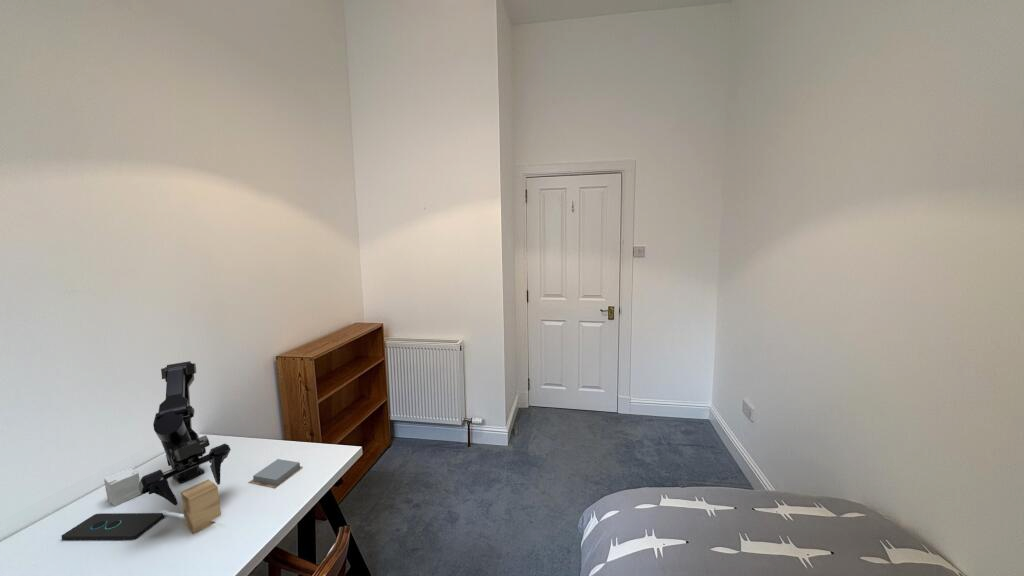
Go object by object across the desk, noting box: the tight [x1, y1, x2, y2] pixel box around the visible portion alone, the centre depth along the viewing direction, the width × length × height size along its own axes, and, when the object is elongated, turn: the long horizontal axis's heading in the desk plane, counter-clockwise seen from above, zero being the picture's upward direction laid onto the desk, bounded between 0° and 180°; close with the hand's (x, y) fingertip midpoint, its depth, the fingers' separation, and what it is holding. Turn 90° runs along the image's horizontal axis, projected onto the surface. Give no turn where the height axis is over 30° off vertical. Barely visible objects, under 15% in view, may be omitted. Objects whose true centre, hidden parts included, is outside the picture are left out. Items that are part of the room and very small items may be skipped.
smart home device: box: [61, 512, 165, 541], centre depth 95 cm, size 8×2×20 cm
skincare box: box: [103, 467, 142, 507], centre depth 107 cm, size 6×6×7 cm
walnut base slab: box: [247, 465, 304, 490], centre depth 115 cm, size 11×11×2 cm
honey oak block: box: [180, 479, 222, 535], centre depth 96 cm, size 6×6×10 cm
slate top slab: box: [252, 458, 301, 486], centre depth 115 cm, size 9×9×2 cm
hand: (198, 494), depth 96 cm, fingers open, 9 cm apart
